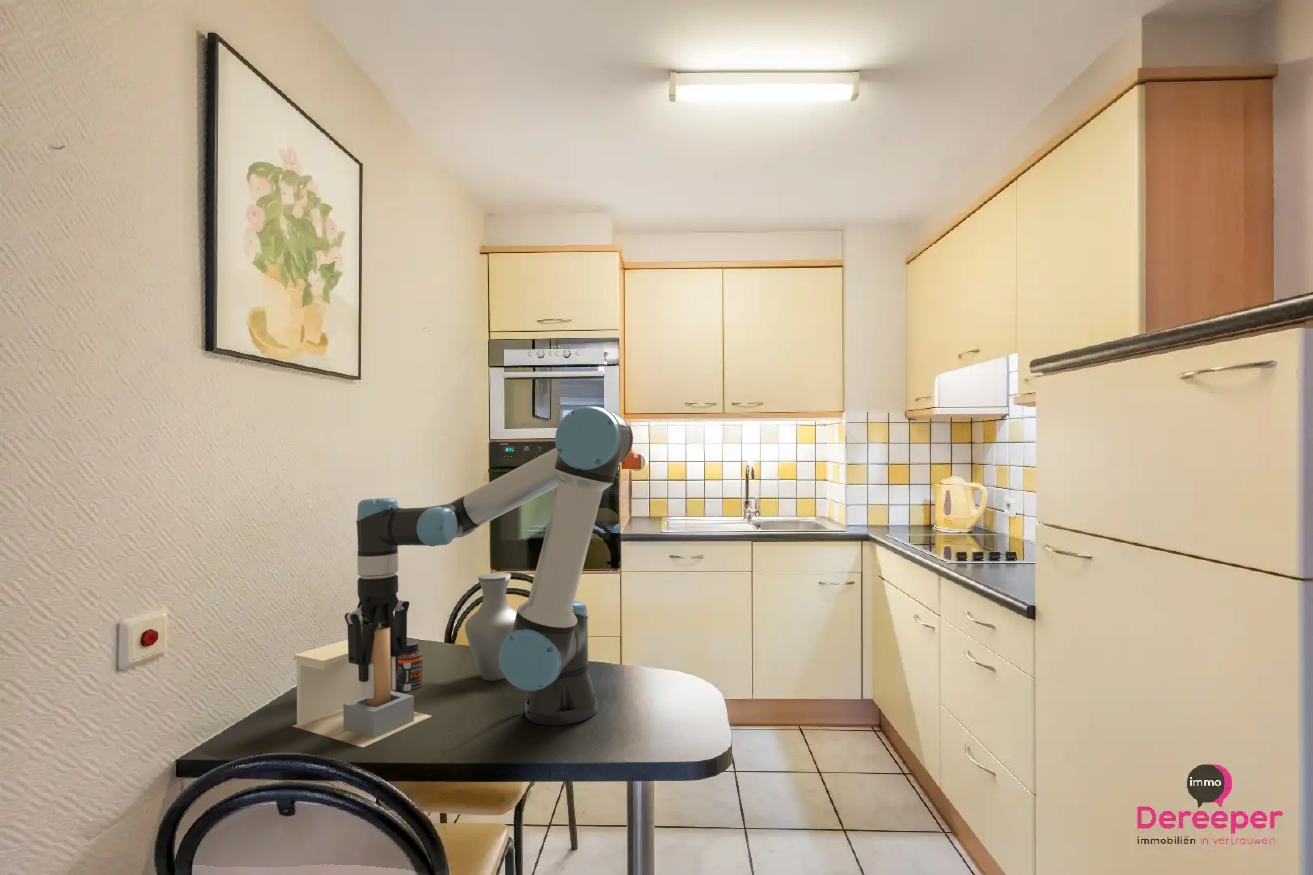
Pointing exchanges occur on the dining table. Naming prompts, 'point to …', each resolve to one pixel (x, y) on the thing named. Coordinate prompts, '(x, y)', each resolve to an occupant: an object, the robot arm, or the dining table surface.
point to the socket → (378, 715)
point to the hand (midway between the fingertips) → (378, 692)
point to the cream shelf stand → (325, 681)
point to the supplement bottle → (409, 668)
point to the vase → (490, 625)
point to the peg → (381, 667)
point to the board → (335, 729)
